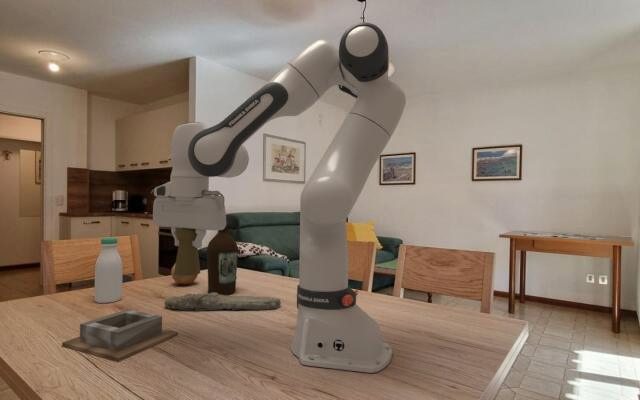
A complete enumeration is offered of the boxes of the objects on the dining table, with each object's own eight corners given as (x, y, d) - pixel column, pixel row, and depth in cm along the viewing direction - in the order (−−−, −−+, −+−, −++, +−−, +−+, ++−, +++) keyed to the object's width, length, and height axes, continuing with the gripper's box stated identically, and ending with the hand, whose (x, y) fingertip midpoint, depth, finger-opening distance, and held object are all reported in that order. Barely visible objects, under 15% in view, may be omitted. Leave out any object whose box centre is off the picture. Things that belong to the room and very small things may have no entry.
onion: (165, 286, 136) (165, 260, 136) (180, 281, 146) (180, 256, 146) (189, 288, 134) (190, 261, 134) (202, 282, 144) (203, 257, 144)
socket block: (177, 335, 89) (177, 315, 89) (118, 361, 75) (118, 338, 74) (125, 323, 96) (125, 305, 96) (62, 346, 82) (62, 324, 82)
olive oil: (200, 292, 130) (201, 221, 130) (227, 287, 137) (228, 220, 137) (215, 298, 122) (216, 223, 122) (243, 292, 129) (244, 222, 129)
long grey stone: (279, 317, 109) (280, 309, 118) (280, 299, 109) (281, 292, 119) (158, 311, 106) (170, 303, 116) (160, 293, 107) (171, 286, 117)
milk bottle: (127, 299, 119) (127, 238, 119) (102, 305, 112) (103, 240, 112) (114, 295, 123) (114, 236, 123) (89, 300, 117) (90, 238, 116)
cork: (191, 276, 85) (192, 229, 85) (168, 274, 87) (169, 228, 87) (205, 271, 91) (206, 227, 91) (183, 269, 93) (185, 226, 93)
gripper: (232, 191, 88) (231, 248, 88) (168, 189, 96) (167, 242, 96) (215, 190, 82) (213, 252, 82) (148, 189, 90) (147, 245, 90)
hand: (188, 246), depth 89 cm, fingers closed on cork, 4 cm apart
